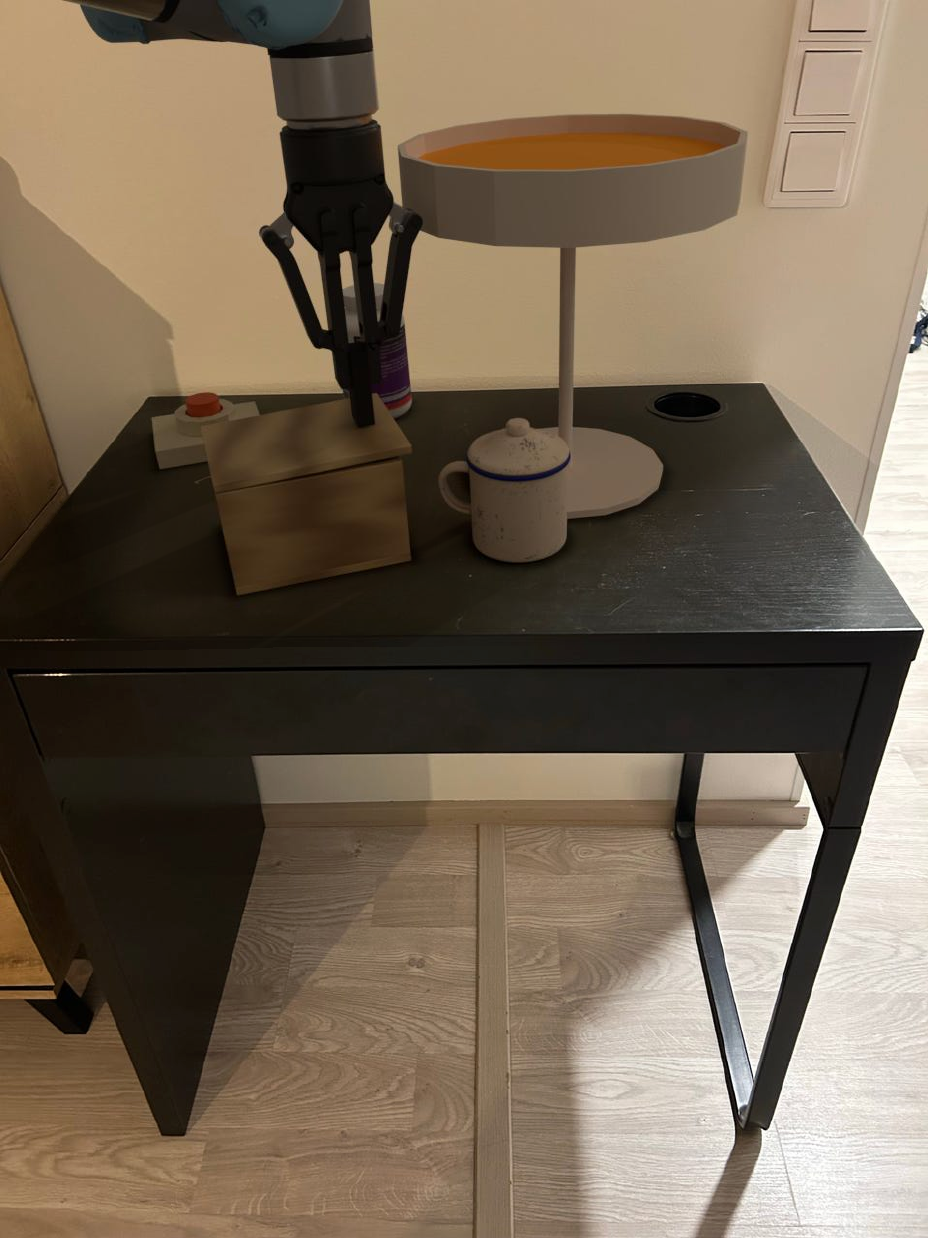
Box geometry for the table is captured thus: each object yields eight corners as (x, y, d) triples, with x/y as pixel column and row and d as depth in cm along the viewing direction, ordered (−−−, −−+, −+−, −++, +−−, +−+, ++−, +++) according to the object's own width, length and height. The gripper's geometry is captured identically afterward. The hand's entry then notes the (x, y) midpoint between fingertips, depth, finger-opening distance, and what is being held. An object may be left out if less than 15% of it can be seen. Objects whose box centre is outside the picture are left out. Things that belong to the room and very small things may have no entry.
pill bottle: (424, 404, 116) (415, 282, 107) (390, 429, 110) (378, 303, 102) (368, 395, 119) (355, 276, 111) (332, 419, 113) (315, 296, 105)
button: (189, 421, 105) (186, 406, 104) (187, 409, 108) (184, 395, 107) (222, 416, 106) (219, 401, 105) (219, 404, 109) (216, 390, 108)
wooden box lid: (377, 400, 90) (376, 392, 90) (412, 453, 80) (411, 444, 80) (201, 434, 87) (199, 426, 86) (214, 493, 77) (212, 485, 76)
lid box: (379, 499, 96) (369, 407, 90) (411, 560, 86) (402, 461, 80) (222, 528, 92) (201, 434, 87) (237, 595, 82) (214, 494, 77)
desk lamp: (631, 399, 114) (648, 104, 96) (769, 508, 90) (825, 145, 73) (391, 441, 107) (361, 132, 89) (473, 570, 84) (455, 187, 66)
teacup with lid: (577, 521, 90) (580, 404, 84) (557, 571, 83) (559, 447, 77) (456, 509, 93) (450, 395, 87) (427, 556, 86) (417, 436, 80)
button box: (159, 469, 104) (151, 435, 102) (155, 434, 112) (147, 402, 110) (269, 451, 107) (263, 417, 104) (257, 418, 115) (252, 386, 112)
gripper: (402, 106, 75) (423, 393, 88) (234, 122, 72) (283, 416, 85) (427, 118, 69) (446, 423, 82) (246, 135, 66) (296, 449, 80)
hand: (363, 419), depth 84 cm, fingers closed
